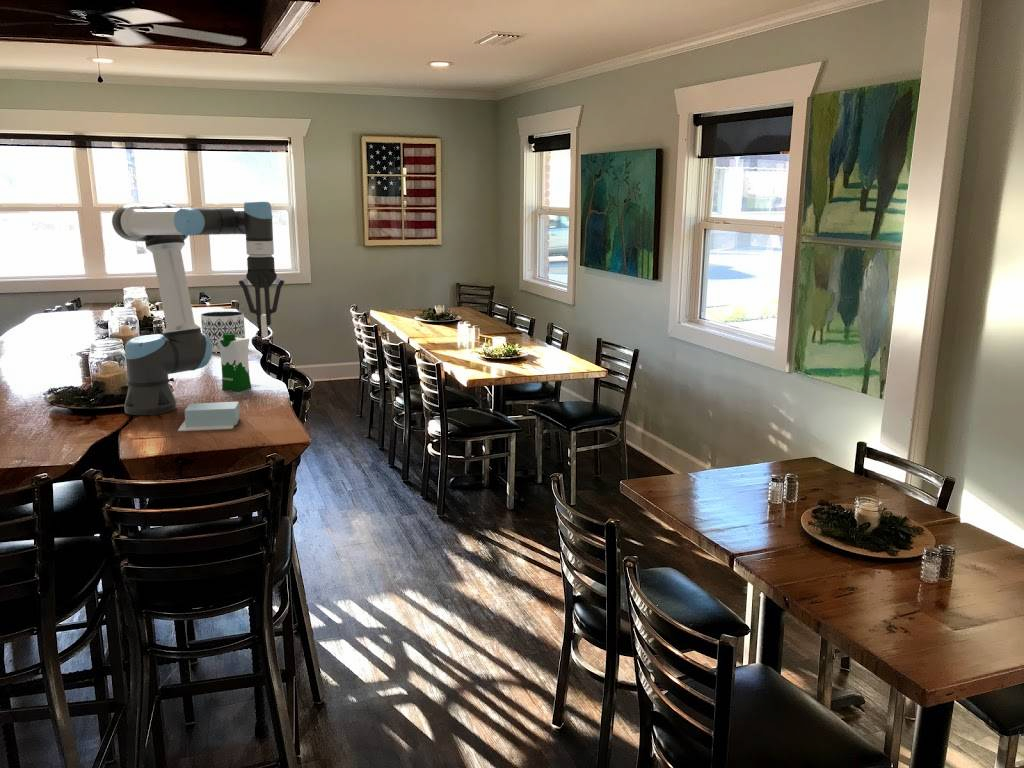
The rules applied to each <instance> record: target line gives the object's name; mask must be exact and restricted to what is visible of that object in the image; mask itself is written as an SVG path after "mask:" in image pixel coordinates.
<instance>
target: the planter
mask: <svg viewBox="0 0 1024 768" xmlns="http://www.w3.org/2000/svg"><path fill="white" fill-rule="evenodd" d="M200 320H201V333H204V334H206V335H207V336H208V338H209V339H210V341H211V345H212V352H215V353H214V354H217V353H216V352H220V348H219V345H218V341H217V340H220V339H223V334H227V333H233V334H235V337H237V338H246V330H245V329H246V328H245V316H244V312H242V311H231V310H230V311H229V310H228V311H225V310H224V311H212V312H210V311H208V312H203V313H201V314H200Z"/></svg>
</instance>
